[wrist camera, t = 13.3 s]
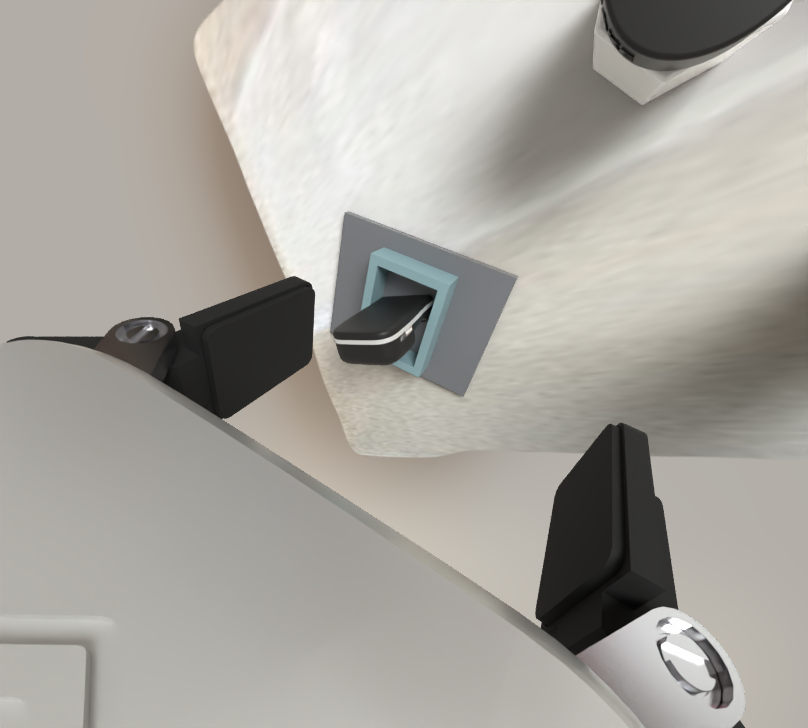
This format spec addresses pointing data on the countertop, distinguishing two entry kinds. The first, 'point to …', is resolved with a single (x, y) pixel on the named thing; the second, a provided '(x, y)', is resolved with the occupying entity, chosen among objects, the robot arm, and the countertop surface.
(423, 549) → the robot arm
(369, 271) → the charging dock
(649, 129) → the countertop surface
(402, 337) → the black hard case
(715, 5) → the jar
